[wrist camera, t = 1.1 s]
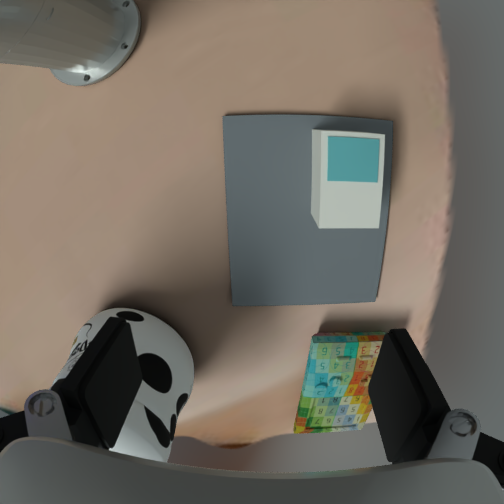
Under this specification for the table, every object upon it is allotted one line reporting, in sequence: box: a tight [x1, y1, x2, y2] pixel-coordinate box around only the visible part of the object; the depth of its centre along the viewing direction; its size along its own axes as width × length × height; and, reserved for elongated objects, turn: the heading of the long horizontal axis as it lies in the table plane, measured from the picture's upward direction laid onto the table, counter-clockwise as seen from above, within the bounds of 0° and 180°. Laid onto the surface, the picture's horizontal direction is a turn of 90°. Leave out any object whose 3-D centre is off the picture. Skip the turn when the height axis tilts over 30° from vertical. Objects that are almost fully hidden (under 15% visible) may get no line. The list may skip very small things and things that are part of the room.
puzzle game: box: [294, 332, 386, 433], centre depth 42 cm, size 12×5×20 cm
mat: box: [223, 115, 393, 306], centre depth 34 cm, size 22×18×1 cm
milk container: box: [49, 308, 194, 463], centre depth 34 cm, size 17×17×18 cm
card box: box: [311, 129, 385, 228], centre depth 29 cm, size 9×6×5 cm, turn 2°
